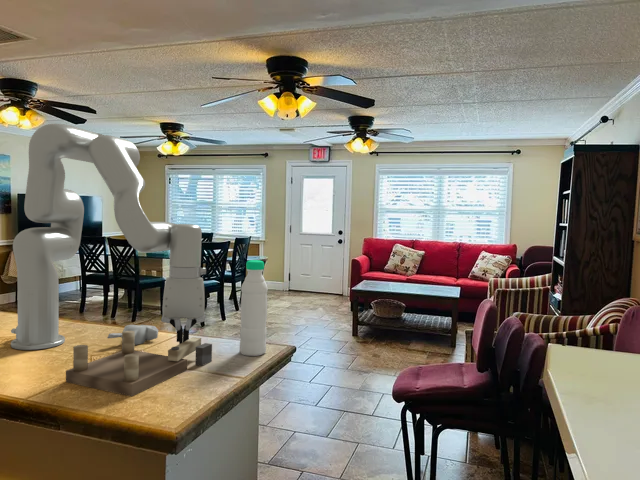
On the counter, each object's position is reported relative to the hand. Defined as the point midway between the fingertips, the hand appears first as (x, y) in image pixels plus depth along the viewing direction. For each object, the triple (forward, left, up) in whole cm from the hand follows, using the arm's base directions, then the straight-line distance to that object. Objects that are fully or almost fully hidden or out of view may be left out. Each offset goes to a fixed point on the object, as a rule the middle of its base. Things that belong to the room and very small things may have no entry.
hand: (182, 344), depth 120 cm
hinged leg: (+4, -4, -1) cm, 5 cm away
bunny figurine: (-20, +6, -4) cm, 21 cm away
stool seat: (-2, -11, -4) cm, 12 cm away
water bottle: (+13, +13, -4) cm, 19 cm away
